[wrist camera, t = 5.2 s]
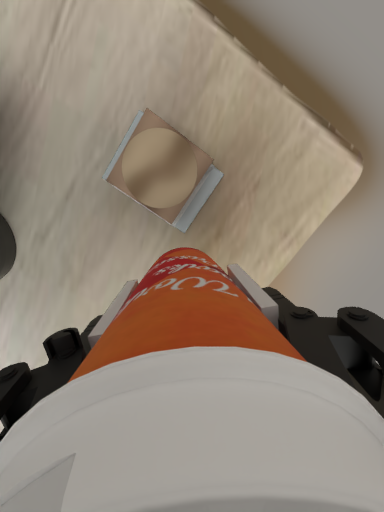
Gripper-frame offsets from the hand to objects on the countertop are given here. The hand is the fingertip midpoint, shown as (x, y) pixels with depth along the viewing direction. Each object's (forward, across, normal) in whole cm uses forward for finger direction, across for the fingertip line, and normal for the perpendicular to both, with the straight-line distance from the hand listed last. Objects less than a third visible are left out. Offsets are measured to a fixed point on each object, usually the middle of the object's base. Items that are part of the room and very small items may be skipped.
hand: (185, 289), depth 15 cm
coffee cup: (+2, 0, 0) cm, 2 cm away
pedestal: (+19, -1, +11) cm, 22 cm away
